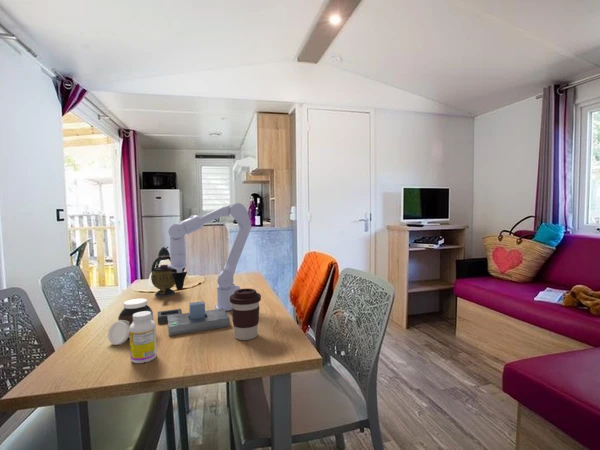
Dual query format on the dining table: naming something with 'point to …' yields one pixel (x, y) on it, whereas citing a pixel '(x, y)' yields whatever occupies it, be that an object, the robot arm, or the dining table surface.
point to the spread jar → (127, 320)
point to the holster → (163, 315)
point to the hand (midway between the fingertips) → (179, 287)
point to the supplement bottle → (142, 338)
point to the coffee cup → (245, 313)
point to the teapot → (162, 275)
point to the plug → (197, 310)
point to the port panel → (197, 322)
